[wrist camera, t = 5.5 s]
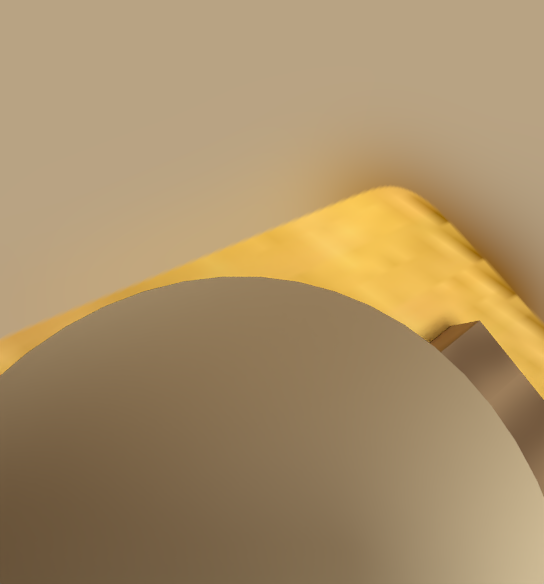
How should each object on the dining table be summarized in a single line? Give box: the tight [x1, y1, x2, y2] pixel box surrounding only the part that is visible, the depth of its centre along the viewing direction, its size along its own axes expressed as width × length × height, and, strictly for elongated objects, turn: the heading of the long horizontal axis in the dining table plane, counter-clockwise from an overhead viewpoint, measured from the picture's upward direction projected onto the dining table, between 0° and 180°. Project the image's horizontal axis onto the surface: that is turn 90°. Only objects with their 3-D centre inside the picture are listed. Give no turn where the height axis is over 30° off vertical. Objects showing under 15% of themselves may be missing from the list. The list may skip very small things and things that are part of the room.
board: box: [430, 321, 544, 496], centre depth 19 cm, size 22×14×3 cm, turn 35°
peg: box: [0, 277, 544, 584], centre depth 9 cm, size 5×5×13 cm
